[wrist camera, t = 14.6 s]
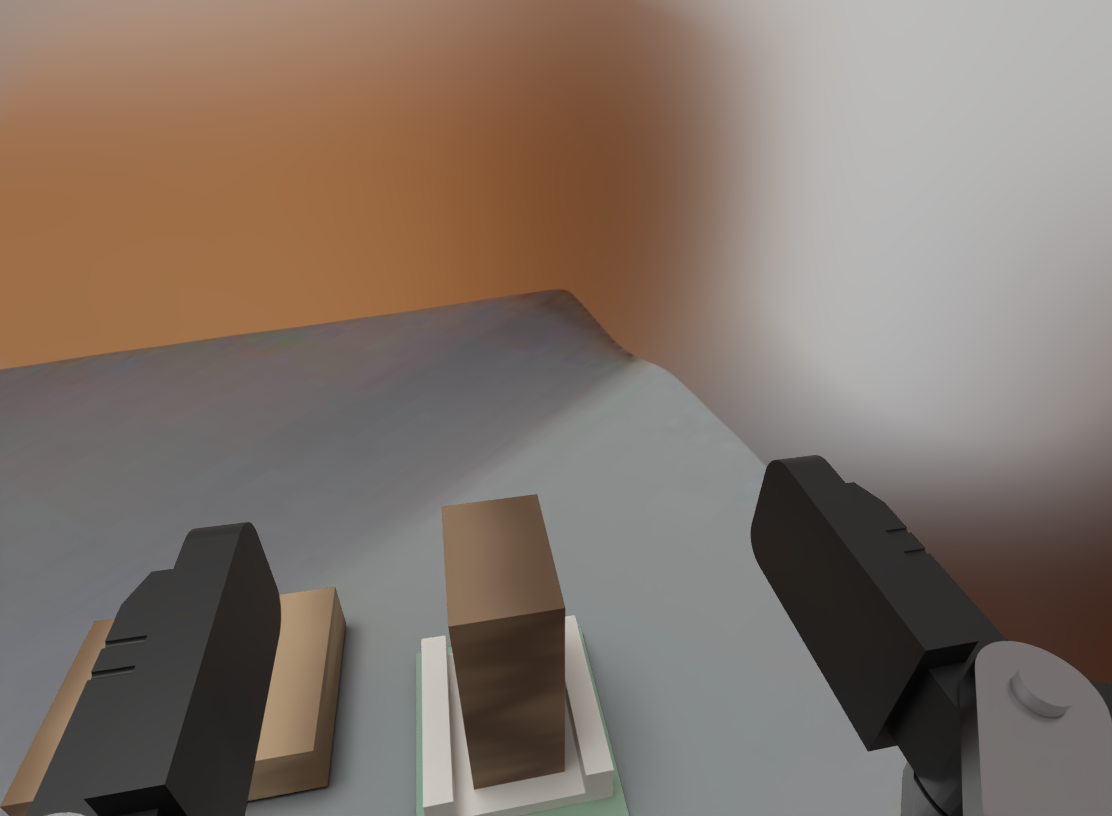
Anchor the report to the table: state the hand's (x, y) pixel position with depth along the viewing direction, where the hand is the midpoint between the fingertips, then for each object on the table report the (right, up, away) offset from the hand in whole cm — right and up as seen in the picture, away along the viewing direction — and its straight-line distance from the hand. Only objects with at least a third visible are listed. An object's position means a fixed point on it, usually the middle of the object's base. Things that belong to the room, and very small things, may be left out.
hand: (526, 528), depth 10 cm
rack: (-2, -13, +20) cm, 24 cm away
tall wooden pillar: (-2, -13, +20) cm, 24 cm away
